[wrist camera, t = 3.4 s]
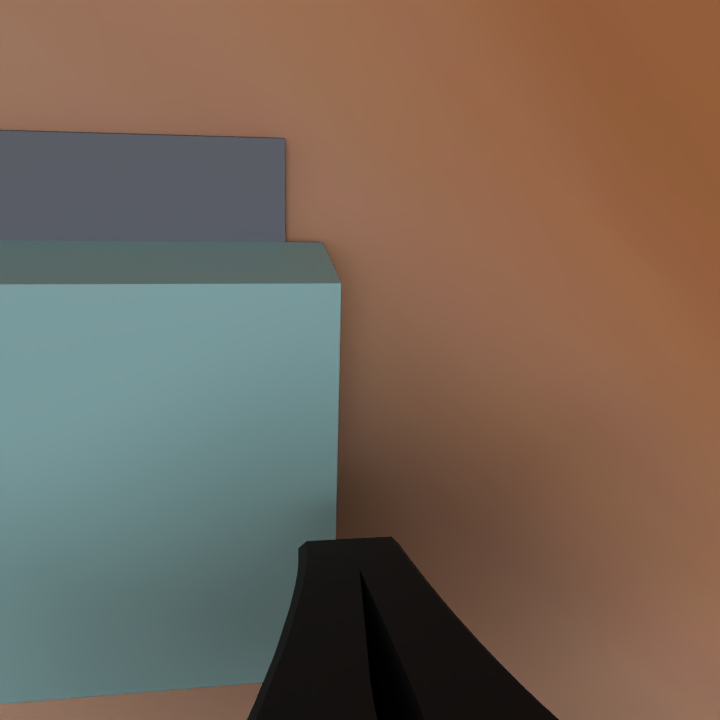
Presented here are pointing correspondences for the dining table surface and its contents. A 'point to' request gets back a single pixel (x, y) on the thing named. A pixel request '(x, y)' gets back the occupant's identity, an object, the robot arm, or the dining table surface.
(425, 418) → the dining table surface
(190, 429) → the slab
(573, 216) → the dining table surface
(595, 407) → the dining table surface
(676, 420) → the dining table surface
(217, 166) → the mat
